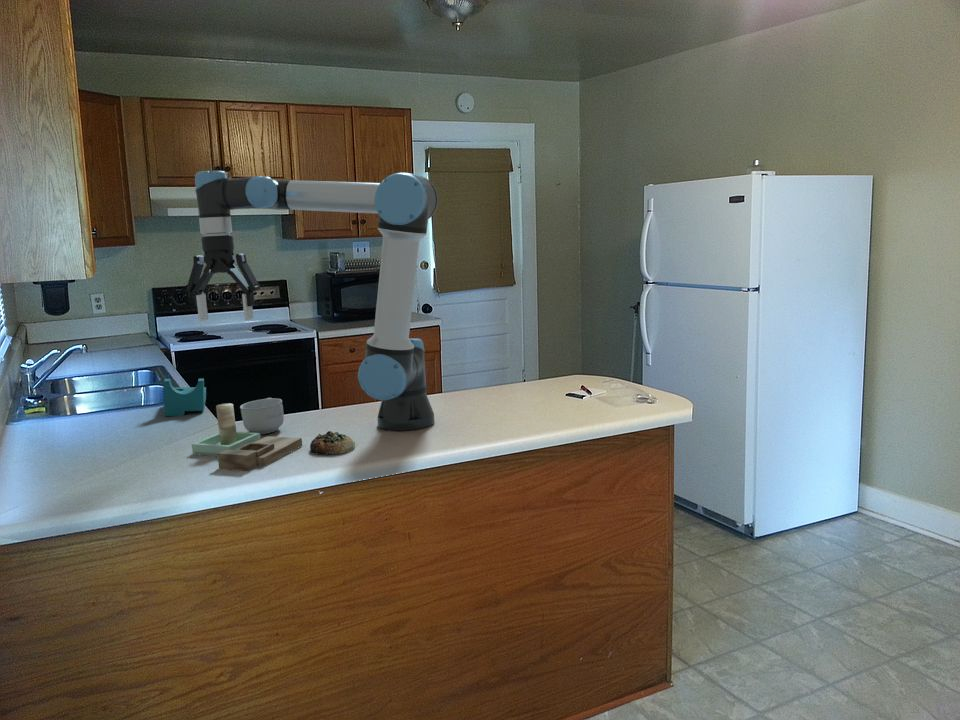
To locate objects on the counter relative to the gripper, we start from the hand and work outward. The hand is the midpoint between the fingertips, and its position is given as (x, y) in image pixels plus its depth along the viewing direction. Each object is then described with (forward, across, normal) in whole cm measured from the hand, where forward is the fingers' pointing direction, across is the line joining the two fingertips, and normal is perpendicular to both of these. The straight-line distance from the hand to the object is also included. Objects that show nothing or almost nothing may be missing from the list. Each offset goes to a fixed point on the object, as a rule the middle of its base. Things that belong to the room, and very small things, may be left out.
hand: (226, 320), depth 194 cm
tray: (+30, -4, +10) cm, 32 cm away
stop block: (+31, -16, +23) cm, 41 cm away
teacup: (+31, -4, -7) cm, 32 cm away
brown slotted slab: (+31, -17, +13) cm, 38 cm away
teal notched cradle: (+31, +37, -25) cm, 54 cm away
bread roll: (+31, -31, +6) cm, 44 cm away
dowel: (+30, -4, +9) cm, 31 cm away
